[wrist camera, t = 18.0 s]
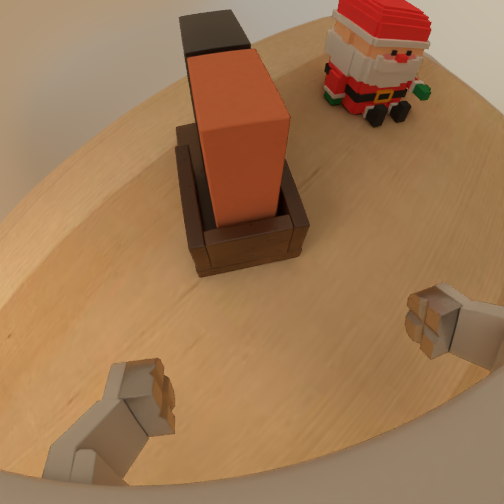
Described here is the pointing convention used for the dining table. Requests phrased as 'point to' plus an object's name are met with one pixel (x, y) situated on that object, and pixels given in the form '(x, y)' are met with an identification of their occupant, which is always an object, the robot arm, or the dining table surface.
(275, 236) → the mount
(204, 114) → the orange rectangular block
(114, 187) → the dining table surface
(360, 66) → the figurine
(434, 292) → the robot arm
